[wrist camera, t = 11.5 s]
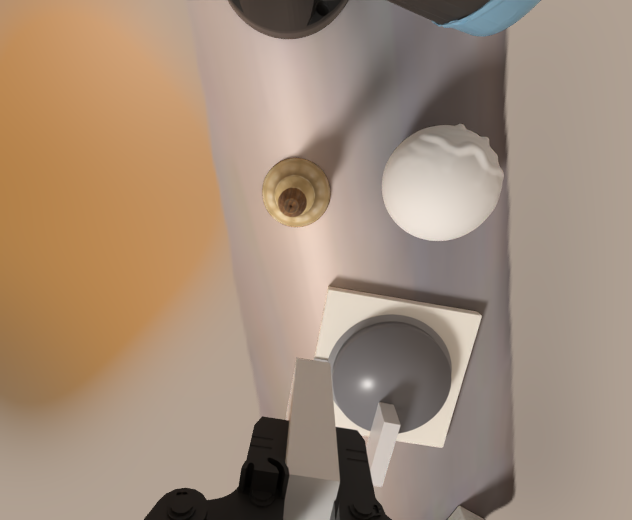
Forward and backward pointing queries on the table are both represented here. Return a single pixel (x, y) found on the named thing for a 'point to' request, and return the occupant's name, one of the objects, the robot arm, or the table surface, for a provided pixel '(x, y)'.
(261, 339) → the table surface
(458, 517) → the skincare box
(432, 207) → the decorative ball
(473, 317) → the dial plate
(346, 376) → the dial
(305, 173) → the hand bell
